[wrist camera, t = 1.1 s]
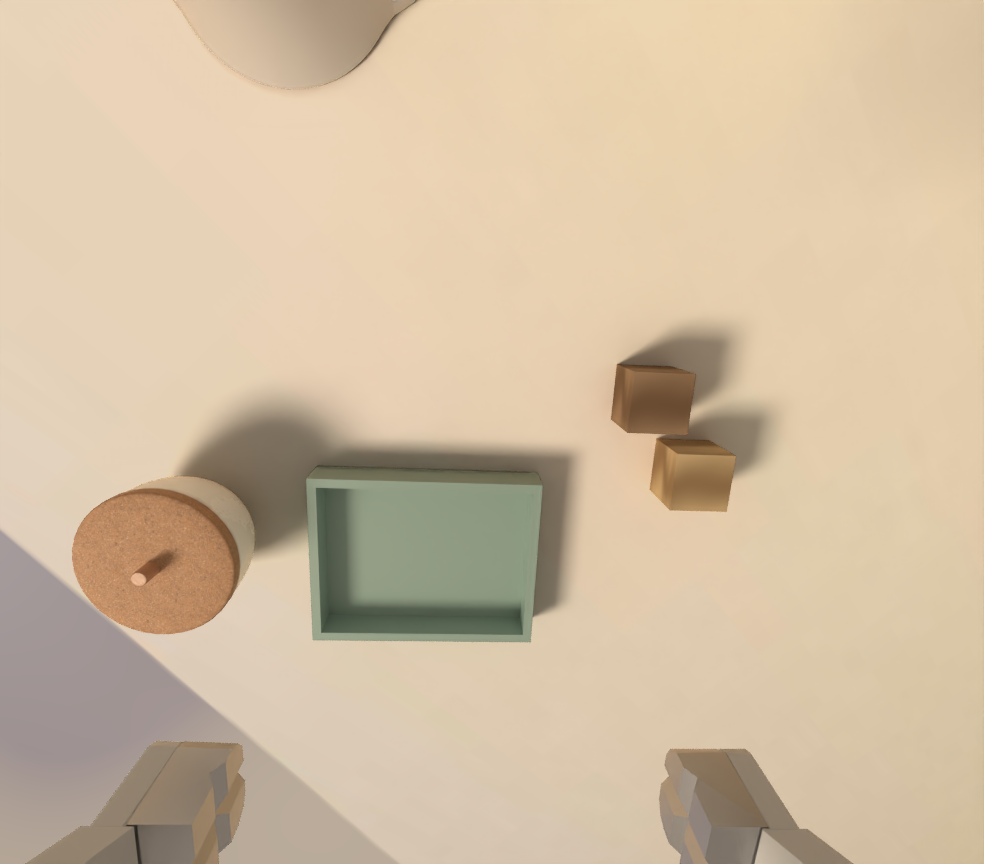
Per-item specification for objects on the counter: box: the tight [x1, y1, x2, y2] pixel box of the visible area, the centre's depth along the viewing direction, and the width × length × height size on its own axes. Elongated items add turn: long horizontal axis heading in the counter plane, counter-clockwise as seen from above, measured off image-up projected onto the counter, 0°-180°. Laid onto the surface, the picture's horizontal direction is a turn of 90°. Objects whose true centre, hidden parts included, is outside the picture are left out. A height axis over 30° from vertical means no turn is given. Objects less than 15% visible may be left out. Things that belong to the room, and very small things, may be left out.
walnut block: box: [611, 364, 696, 435], centre depth 40 cm, size 4×4×4 cm
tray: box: [306, 466, 543, 642], centre depth 42 cm, size 14×18×3 cm
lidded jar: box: [72, 476, 255, 634], centre depth 38 cm, size 11×11×9 cm
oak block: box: [650, 439, 736, 512], centre depth 41 cm, size 4×4×4 cm
